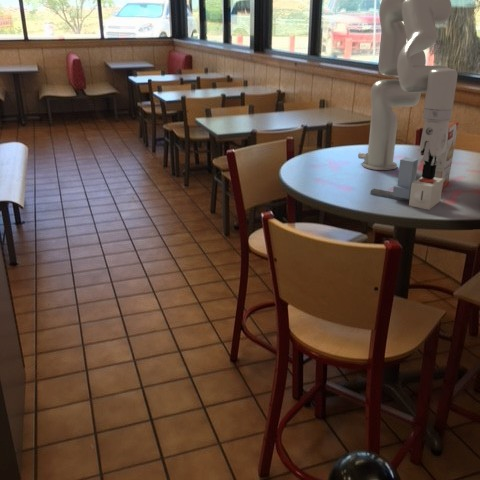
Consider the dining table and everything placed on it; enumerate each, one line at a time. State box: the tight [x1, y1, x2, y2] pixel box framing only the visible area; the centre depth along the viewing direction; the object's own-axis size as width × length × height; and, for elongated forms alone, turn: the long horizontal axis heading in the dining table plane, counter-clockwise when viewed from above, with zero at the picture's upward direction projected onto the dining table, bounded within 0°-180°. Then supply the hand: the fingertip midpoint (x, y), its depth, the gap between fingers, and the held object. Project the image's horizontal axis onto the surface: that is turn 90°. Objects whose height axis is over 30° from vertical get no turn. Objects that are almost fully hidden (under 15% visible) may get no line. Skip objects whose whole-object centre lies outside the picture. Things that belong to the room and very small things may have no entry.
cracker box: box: [434, 120, 460, 190], centre depth 166 cm, size 14×6×21 cm, turn 148°
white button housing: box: [408, 176, 444, 210], centre depth 153 cm, size 6×10×7 cm, turn 142°
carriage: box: [392, 157, 419, 199], centre depth 155 cm, size 5×7×11 cm
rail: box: [369, 188, 410, 202], centre depth 160 cm, size 14×2×1 cm, turn 52°
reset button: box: [422, 178, 434, 184], centre depth 152 cm, size 3×3×3 cm
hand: (428, 177), depth 151 cm, fingers closed
